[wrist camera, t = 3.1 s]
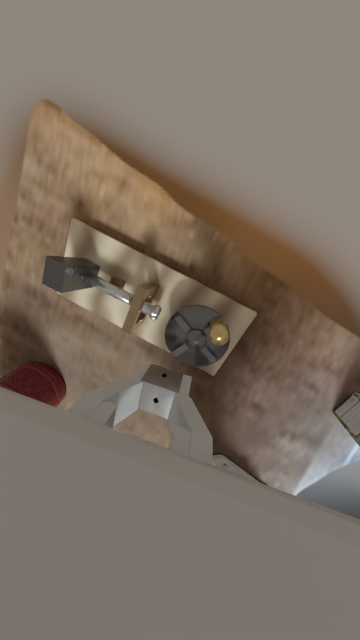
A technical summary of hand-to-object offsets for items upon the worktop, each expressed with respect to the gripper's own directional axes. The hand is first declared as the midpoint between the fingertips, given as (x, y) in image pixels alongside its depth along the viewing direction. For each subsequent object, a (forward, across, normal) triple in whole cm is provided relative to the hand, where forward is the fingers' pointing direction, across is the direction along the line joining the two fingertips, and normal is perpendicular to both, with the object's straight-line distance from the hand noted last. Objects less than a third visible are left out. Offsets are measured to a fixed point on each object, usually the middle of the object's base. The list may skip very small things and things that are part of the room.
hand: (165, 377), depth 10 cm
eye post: (+20, +8, +2) cm, 21 cm away
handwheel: (+17, -2, +4) cm, 17 cm away
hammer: (+19, +14, +1) cm, 24 cm away
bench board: (+21, +8, +2) cm, 23 cm away
